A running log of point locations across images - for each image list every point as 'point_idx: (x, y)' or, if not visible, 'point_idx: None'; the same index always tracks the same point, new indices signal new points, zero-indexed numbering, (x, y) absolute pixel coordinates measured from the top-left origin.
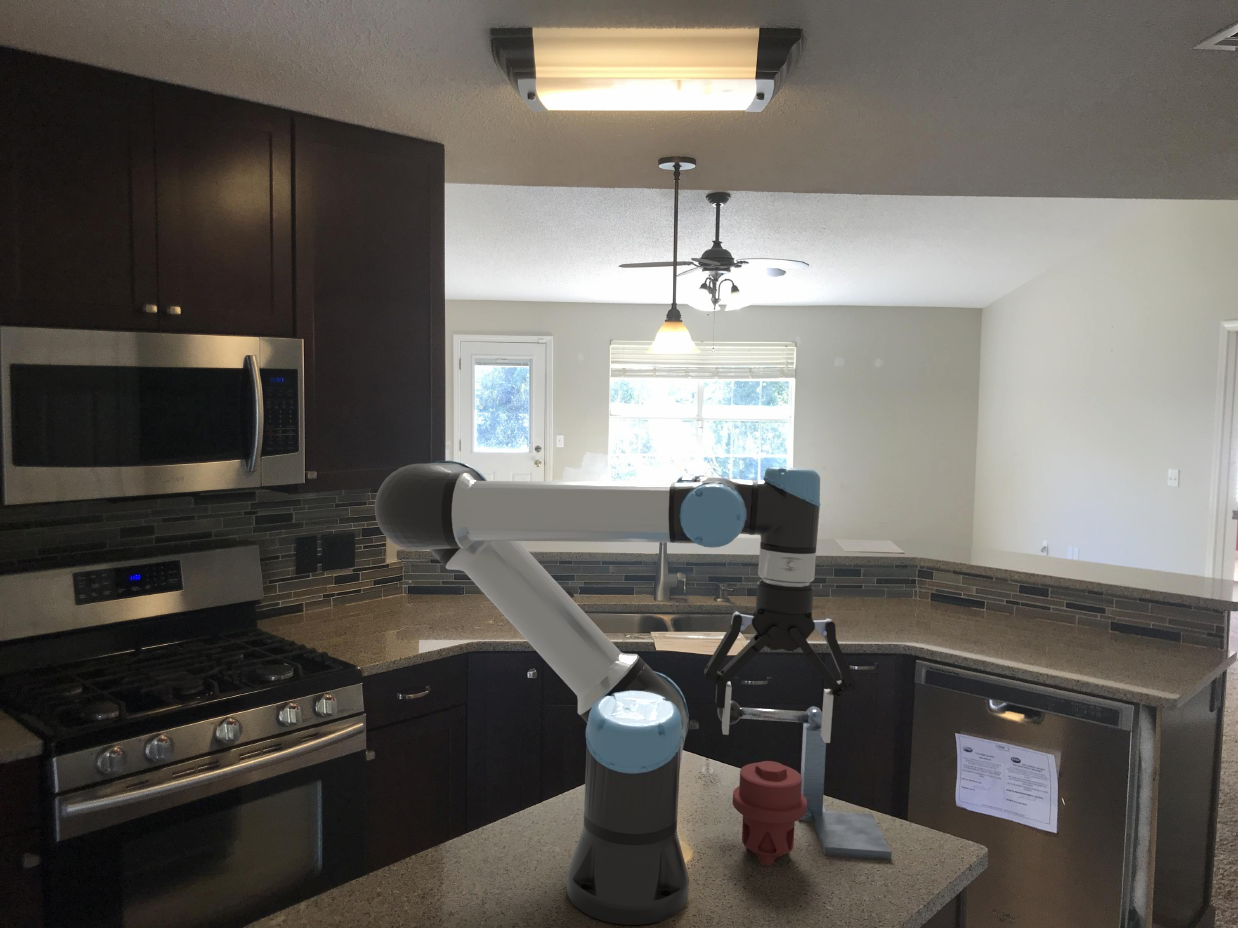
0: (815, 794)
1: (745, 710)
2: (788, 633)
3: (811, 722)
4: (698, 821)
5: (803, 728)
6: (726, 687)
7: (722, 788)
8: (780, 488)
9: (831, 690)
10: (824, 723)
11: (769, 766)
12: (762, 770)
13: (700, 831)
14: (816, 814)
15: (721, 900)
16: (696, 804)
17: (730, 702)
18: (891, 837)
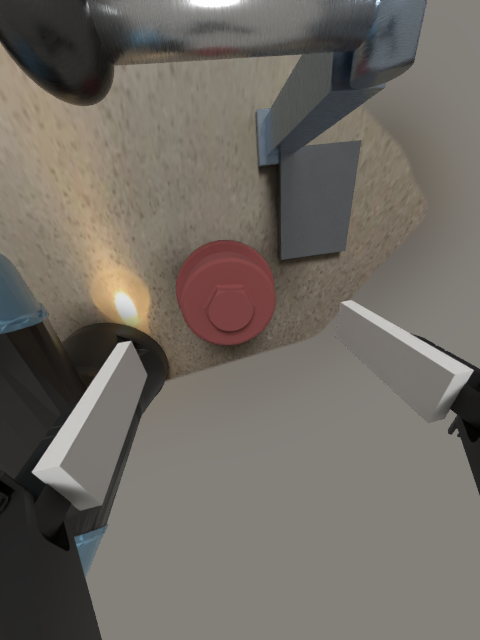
0: (292, 146)
1: (122, 39)
2: None
3: (358, 78)
4: (130, 211)
5: None
6: (82, 507)
7: None
8: None
9: (463, 405)
10: (360, 347)
11: (228, 313)
12: (218, 328)
13: (142, 240)
14: (284, 165)
15: (192, 353)
16: (107, 145)
17: (122, 444)
18: (360, 190)
